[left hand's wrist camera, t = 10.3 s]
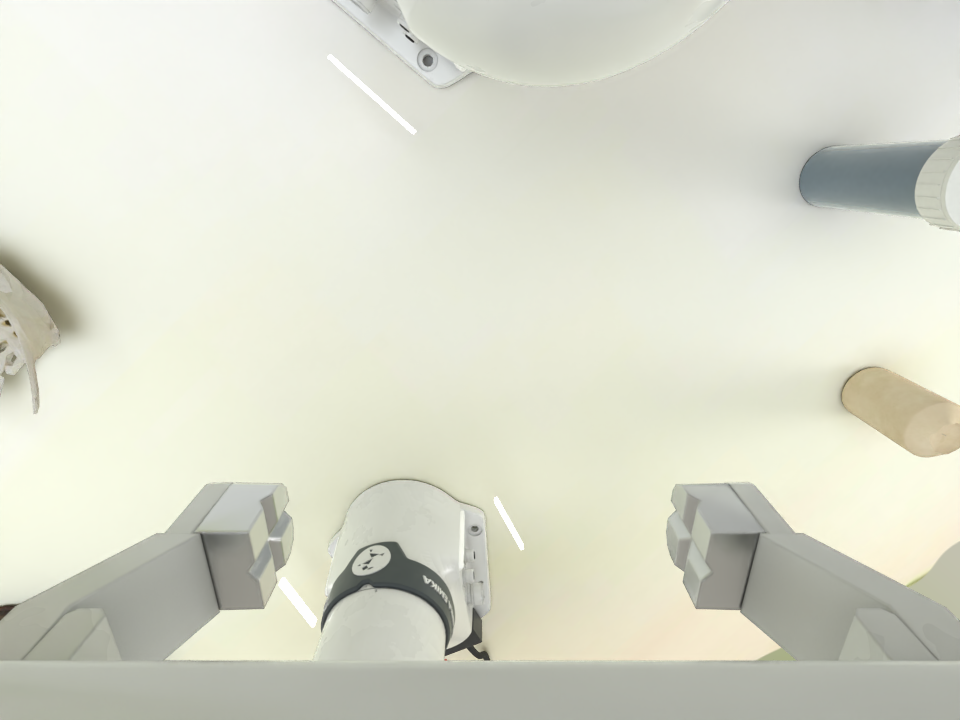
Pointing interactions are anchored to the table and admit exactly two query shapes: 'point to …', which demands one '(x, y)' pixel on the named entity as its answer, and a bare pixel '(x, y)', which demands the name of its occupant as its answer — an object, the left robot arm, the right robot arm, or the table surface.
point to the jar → (867, 177)
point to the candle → (904, 412)
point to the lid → (941, 187)
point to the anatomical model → (23, 330)
